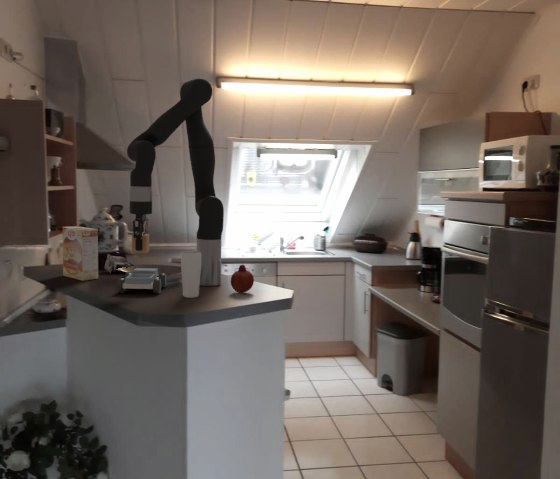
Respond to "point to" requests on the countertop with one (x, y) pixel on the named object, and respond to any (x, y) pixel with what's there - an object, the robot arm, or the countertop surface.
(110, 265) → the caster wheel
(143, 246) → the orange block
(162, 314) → the countertop surface
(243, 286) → the fruit
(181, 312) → the countertop surface
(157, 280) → the chassis
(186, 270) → the drinking glass
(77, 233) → the coffeecake box
